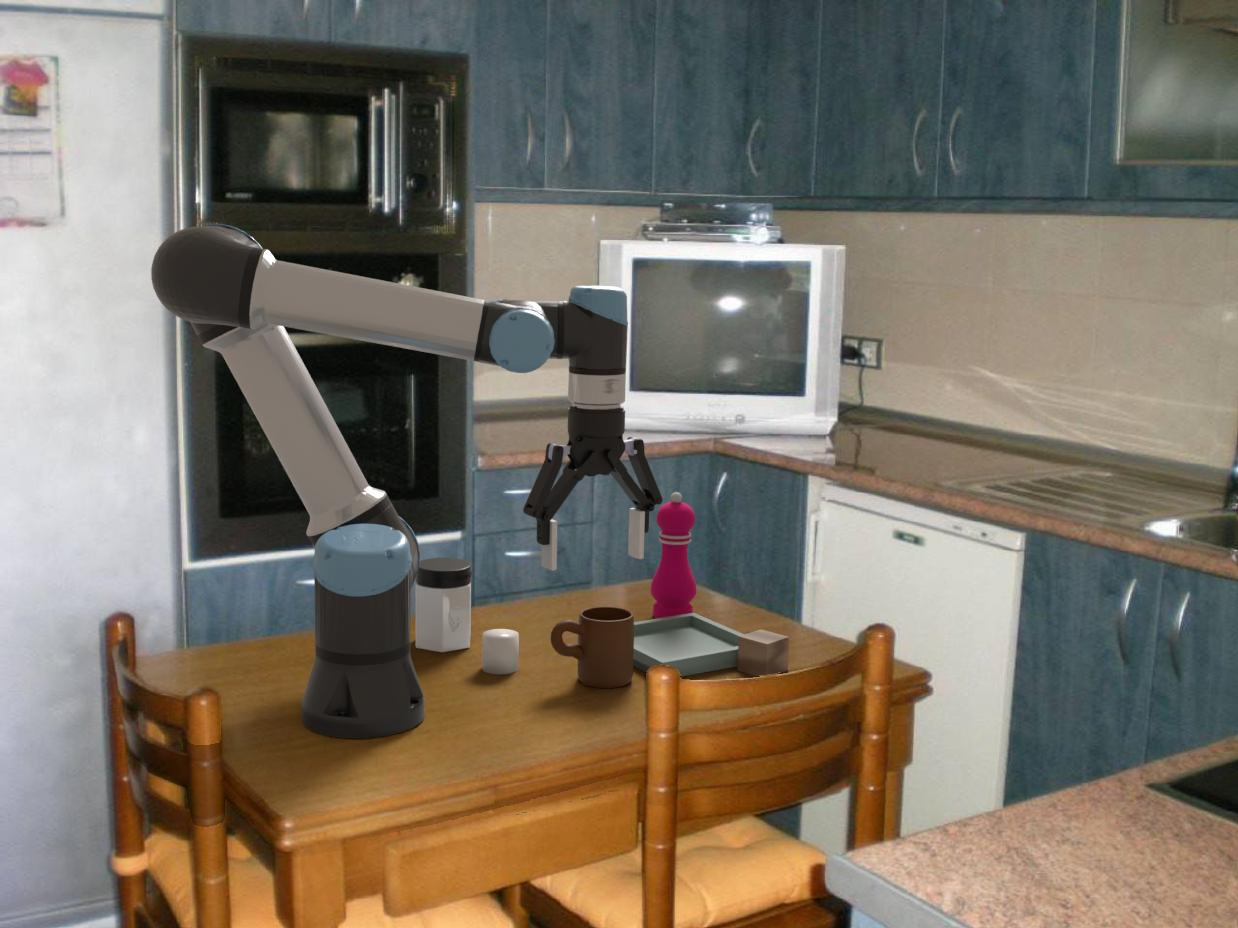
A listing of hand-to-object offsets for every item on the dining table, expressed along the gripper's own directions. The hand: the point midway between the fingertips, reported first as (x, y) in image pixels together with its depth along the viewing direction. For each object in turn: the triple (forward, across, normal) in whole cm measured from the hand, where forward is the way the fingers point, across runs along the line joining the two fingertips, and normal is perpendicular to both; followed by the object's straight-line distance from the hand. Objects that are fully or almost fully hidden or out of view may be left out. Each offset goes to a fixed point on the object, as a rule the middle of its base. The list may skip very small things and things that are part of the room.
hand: (593, 562), depth 192 cm
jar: (+17, -10, +25) cm, 32 cm away
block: (+17, +24, -7) cm, 30 cm away
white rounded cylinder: (+17, -8, +11) cm, 22 cm away
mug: (+17, 0, 0) cm, 17 cm away
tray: (+17, +18, +5) cm, 25 cm away
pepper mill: (+17, +28, +21) cm, 39 cm away
